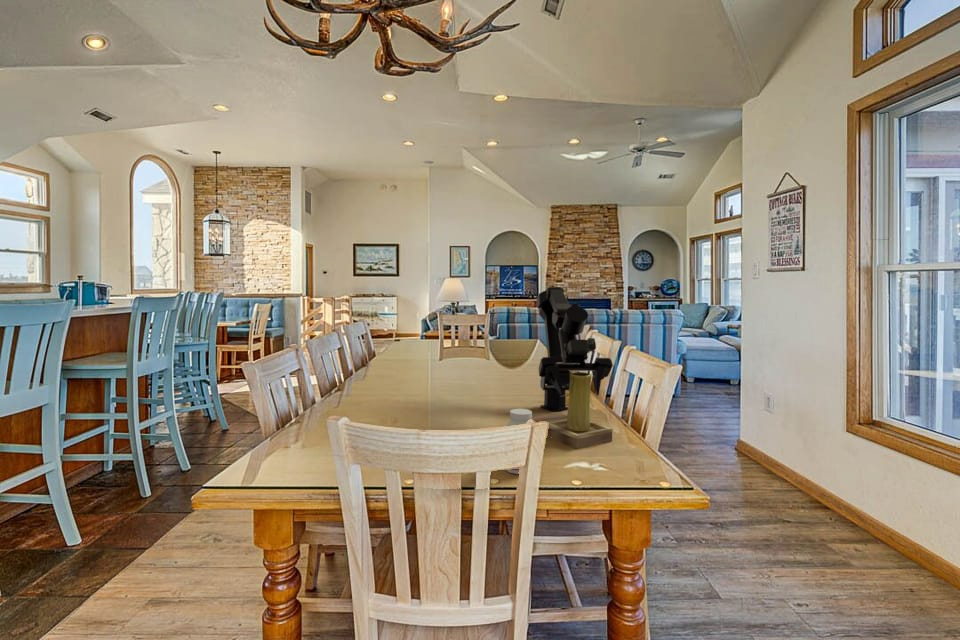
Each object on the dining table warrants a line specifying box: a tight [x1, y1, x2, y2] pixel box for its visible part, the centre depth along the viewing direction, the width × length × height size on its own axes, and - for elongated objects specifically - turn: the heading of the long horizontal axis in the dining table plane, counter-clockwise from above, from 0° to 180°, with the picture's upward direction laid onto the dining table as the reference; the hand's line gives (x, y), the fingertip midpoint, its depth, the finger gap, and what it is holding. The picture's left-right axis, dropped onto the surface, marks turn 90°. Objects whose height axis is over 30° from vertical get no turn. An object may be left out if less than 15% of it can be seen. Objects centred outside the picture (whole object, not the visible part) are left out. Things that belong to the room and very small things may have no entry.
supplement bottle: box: [505, 408, 533, 475], centre depth 112 cm, size 7×7×13 cm
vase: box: [566, 371, 592, 432], centre depth 134 cm, size 6×6×14 cm
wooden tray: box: [531, 412, 613, 450], centre depth 138 cm, size 20×12×3 cm, turn 32°
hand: (580, 394), depth 133 cm, fingers open, 9 cm apart
